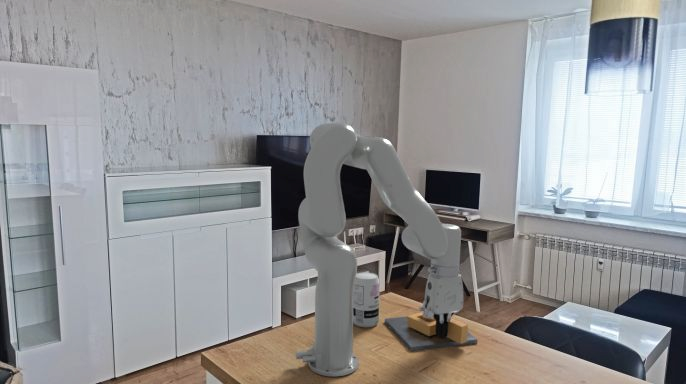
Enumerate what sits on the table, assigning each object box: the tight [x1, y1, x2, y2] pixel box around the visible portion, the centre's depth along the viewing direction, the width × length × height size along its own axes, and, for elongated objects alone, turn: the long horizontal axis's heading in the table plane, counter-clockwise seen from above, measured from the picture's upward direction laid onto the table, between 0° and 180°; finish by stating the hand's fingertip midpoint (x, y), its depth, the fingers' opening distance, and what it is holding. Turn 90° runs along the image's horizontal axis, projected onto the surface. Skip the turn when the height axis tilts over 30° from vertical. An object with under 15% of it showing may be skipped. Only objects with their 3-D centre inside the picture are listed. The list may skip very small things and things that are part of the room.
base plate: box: [384, 300, 478, 352], centre depth 136 cm, size 22×20×9 cm
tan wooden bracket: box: [406, 311, 468, 344], centre depth 132 cm, size 9×18×5 cm, turn 36°
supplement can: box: [353, 271, 381, 329], centre depth 142 cm, size 8×8×15 cm
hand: (441, 334), depth 127 cm, fingers closed
